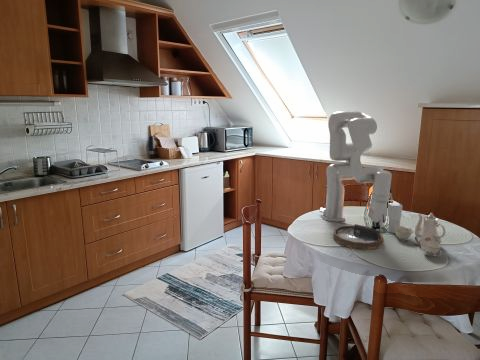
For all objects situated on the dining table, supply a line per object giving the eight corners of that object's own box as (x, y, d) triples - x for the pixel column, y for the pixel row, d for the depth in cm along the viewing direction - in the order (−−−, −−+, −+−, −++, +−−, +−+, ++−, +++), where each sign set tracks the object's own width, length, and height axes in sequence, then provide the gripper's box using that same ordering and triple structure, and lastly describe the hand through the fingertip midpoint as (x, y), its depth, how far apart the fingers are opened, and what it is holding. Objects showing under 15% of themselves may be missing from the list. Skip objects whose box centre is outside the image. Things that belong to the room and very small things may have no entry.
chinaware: (386, 240, 177) (387, 208, 173) (413, 233, 182) (414, 202, 178) (432, 265, 152) (435, 228, 147) (462, 256, 157) (465, 220, 152)
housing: (324, 239, 172) (324, 233, 172) (346, 227, 189) (347, 221, 188) (370, 254, 157) (371, 247, 156) (391, 240, 173) (391, 233, 172)
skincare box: (380, 227, 190) (383, 200, 187) (391, 226, 191) (394, 200, 188) (388, 232, 182) (391, 205, 179) (399, 232, 183) (403, 204, 179)
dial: (329, 238, 171) (330, 225, 170) (346, 227, 186) (347, 215, 185) (370, 249, 159) (372, 235, 158) (385, 236, 174) (386, 223, 172)
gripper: (365, 192, 172) (361, 227, 177) (378, 202, 158) (373, 240, 163) (381, 192, 172) (376, 227, 177) (395, 202, 158) (389, 240, 163)
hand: (375, 233), depth 170 cm, fingers closed
